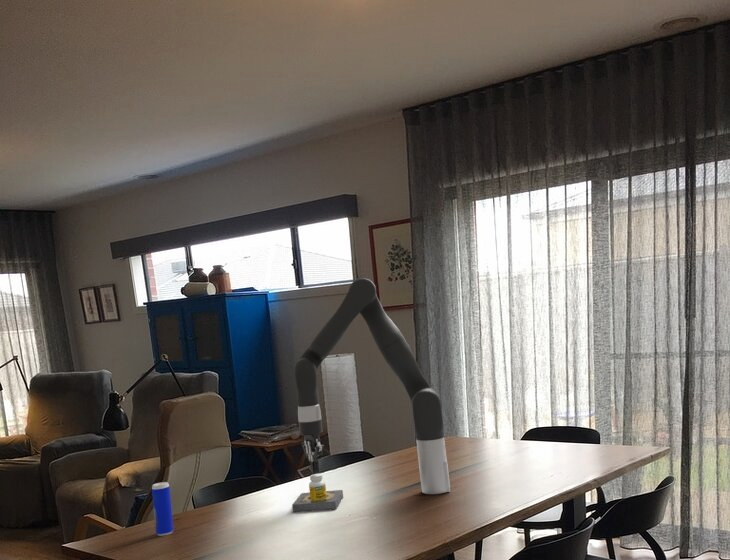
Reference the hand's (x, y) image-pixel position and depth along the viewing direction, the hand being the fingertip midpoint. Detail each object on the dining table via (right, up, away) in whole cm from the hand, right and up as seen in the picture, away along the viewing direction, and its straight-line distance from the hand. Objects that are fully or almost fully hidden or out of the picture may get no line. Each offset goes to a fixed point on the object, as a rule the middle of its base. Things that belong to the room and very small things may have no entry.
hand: (315, 472), depth 227 cm
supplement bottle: (+1, -11, -1) cm, 11 cm away
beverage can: (-45, -15, -15) cm, 49 cm away
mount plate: (+1, -10, -1) cm, 10 cm away
